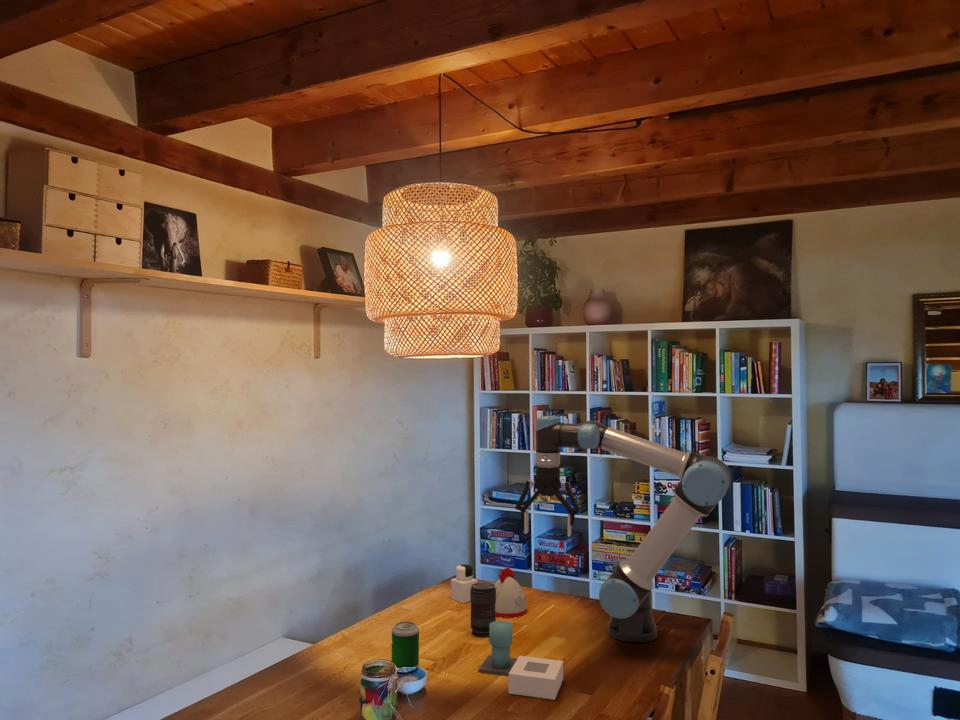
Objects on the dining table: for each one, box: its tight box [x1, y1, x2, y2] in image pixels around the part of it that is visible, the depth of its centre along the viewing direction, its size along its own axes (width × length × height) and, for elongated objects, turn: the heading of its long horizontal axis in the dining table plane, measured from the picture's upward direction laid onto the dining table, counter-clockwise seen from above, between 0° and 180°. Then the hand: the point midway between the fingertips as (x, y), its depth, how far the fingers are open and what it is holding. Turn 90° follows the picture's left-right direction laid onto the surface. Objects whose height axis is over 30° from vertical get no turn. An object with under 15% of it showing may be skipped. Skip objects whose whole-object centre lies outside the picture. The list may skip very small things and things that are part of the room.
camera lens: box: [469, 581, 497, 638], centre depth 222 cm, size 8×8×15 cm
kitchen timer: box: [493, 566, 528, 619], centre depth 242 cm, size 14×14×15 cm
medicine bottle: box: [450, 564, 479, 604], centre depth 255 cm, size 7×7×12 cm
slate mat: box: [478, 654, 518, 677], centre depth 196 cm, size 10×10×1 cm
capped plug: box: [488, 620, 513, 668], centre depth 196 cm, size 6×6×11 cm
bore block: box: [507, 655, 564, 701], centre depth 184 cm, size 12×12×5 cm
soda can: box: [391, 621, 420, 668], centre depth 195 cm, size 8×8×12 cm
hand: (547, 534), depth 219 cm, fingers open, 13 cm apart
